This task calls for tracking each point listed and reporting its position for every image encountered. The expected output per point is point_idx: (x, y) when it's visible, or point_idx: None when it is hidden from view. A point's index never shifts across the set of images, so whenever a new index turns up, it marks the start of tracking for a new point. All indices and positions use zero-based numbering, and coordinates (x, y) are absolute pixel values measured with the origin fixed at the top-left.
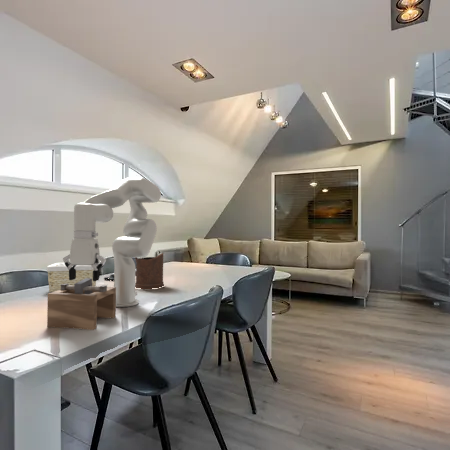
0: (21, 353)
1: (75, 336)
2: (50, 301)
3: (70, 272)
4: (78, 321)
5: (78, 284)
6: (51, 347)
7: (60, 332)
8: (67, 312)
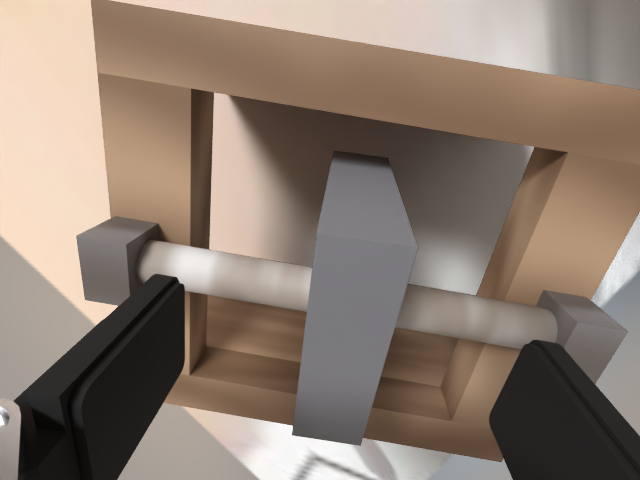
0: (294, 473)
1: None
2: None
3: (117, 468)
4: None
5: (339, 438)
6: (354, 446)
7: None
8: None
